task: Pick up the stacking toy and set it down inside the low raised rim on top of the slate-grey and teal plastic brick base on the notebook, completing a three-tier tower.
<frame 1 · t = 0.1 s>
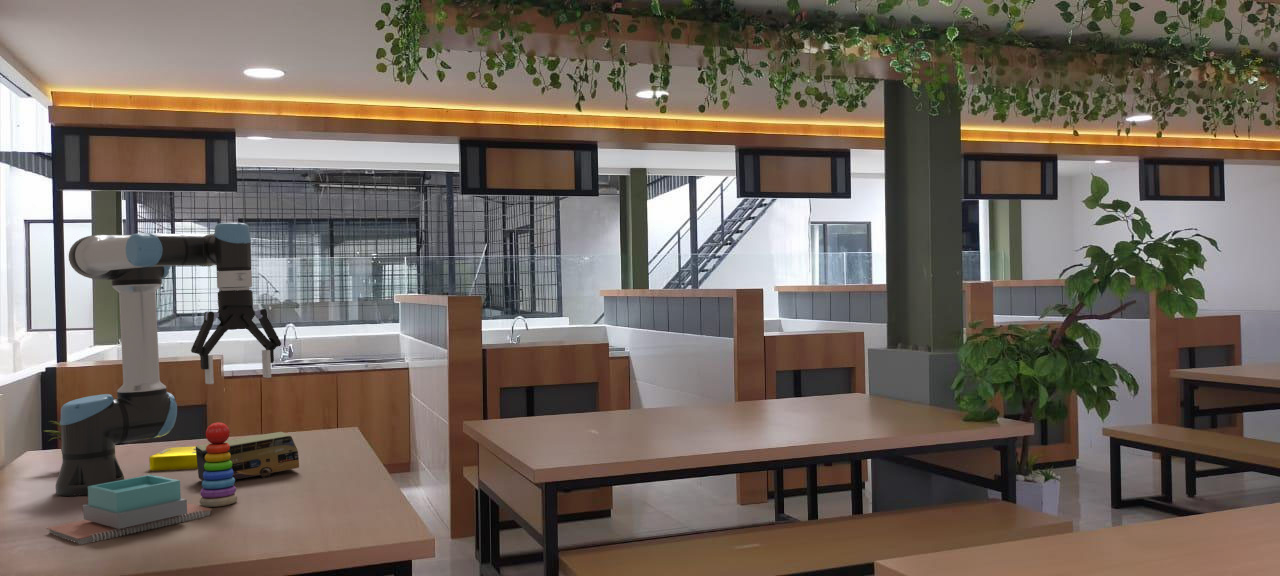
hand: (239, 380, 222), 28 cm above the table, fingers open, 13 cm apart
house plant: (77, 468, 273), on the table
toy bus: (249, 478, 250), on the table
notebook: (133, 527, 203), on the table
stacking toy: (218, 504, 219), on the table
brick base: (135, 516, 201), resting on notebook
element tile: (185, 466, 272), on the table
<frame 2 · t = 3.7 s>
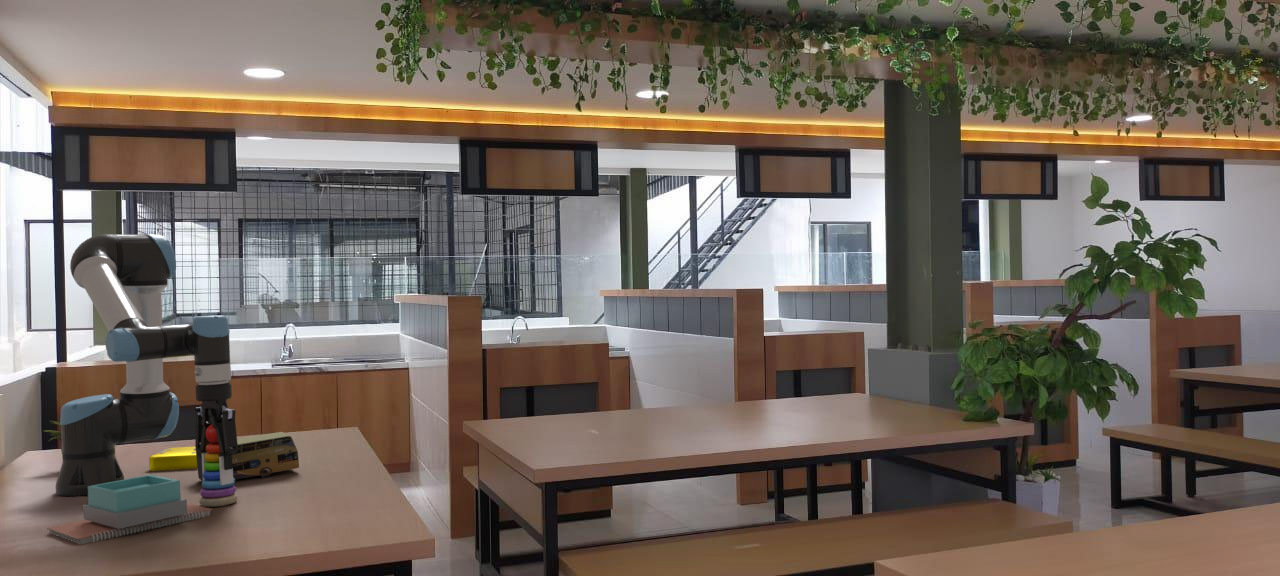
hand: (217, 481, 219), 5 cm above the table, fingers closed on stacking toy, 7 cm apart
stacking toy: (218, 504, 219), on the table, touching gripper
everything else where it was.
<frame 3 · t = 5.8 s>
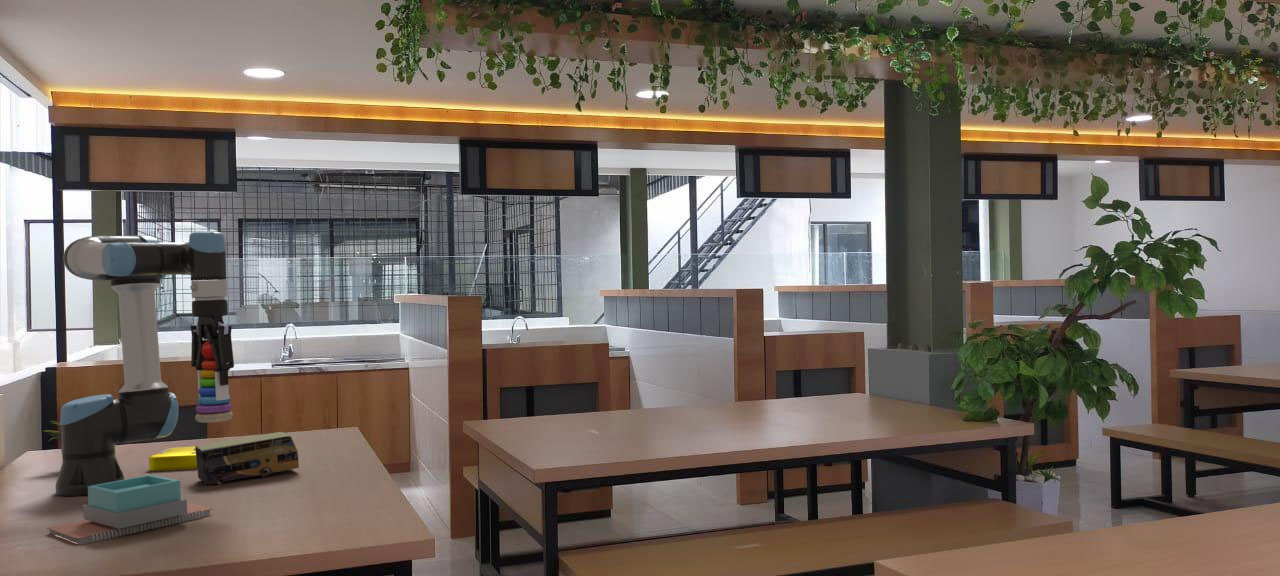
hand: (213, 398, 219), 24 cm above the table, fingers closed on stacking toy, 7 cm apart
stacking toy: (214, 421, 219), point 19 cm above the table, touching gripper
everything else where it was.
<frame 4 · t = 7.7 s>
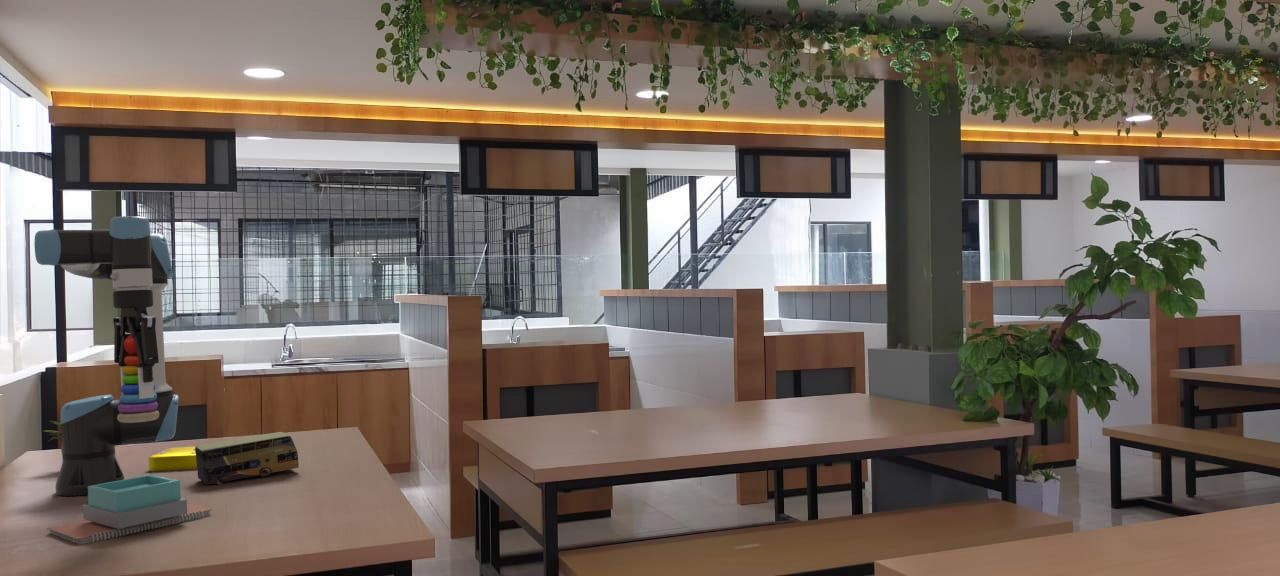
hand: (137, 396, 202), 27 cm above the table, fingers closed on stacking toy, 7 cm apart
stacking toy: (138, 421, 203), point 22 cm above the table, touching gripper
everything else where it was.
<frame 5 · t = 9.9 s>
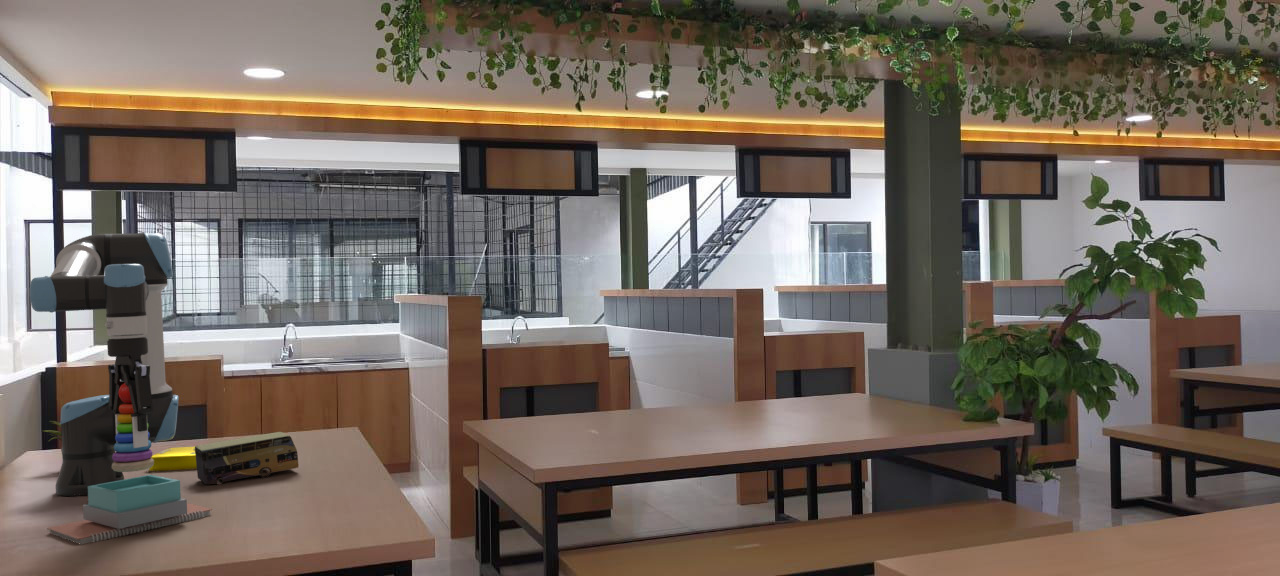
hand: (132, 445, 201), 17 cm above the table, fingers closed on stacking toy, 7 cm apart
stacking toy: (133, 470, 201), point 12 cm above the table, touching gripper
everything else where it was.
when the fingers open (13 cm above the table, at t = 11.9 s): stacking toy stays where it is, resting on brick base.
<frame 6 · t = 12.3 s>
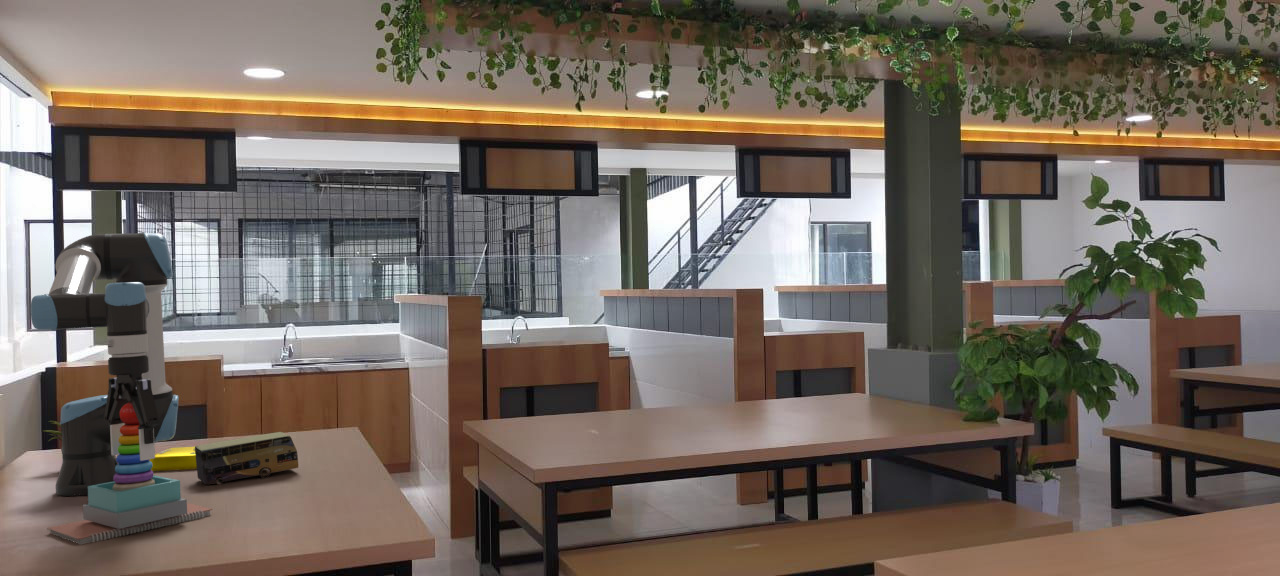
hand: (132, 456, 201), 15 cm above the table, fingers open, 12 cm apart
stacking toy: (134, 491, 201), point 7 cm above the table, touching brick base
everything else where it was.
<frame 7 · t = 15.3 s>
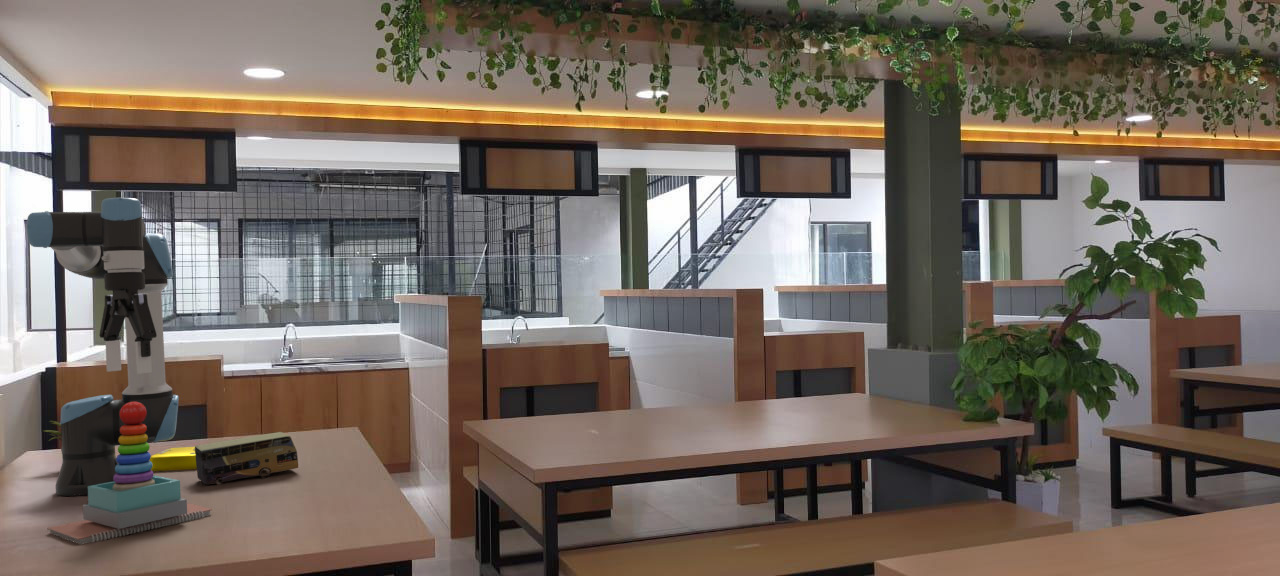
hand: (129, 372, 201), 33 cm above the table, fingers open, 13 cm apart
nothing on the table moved.
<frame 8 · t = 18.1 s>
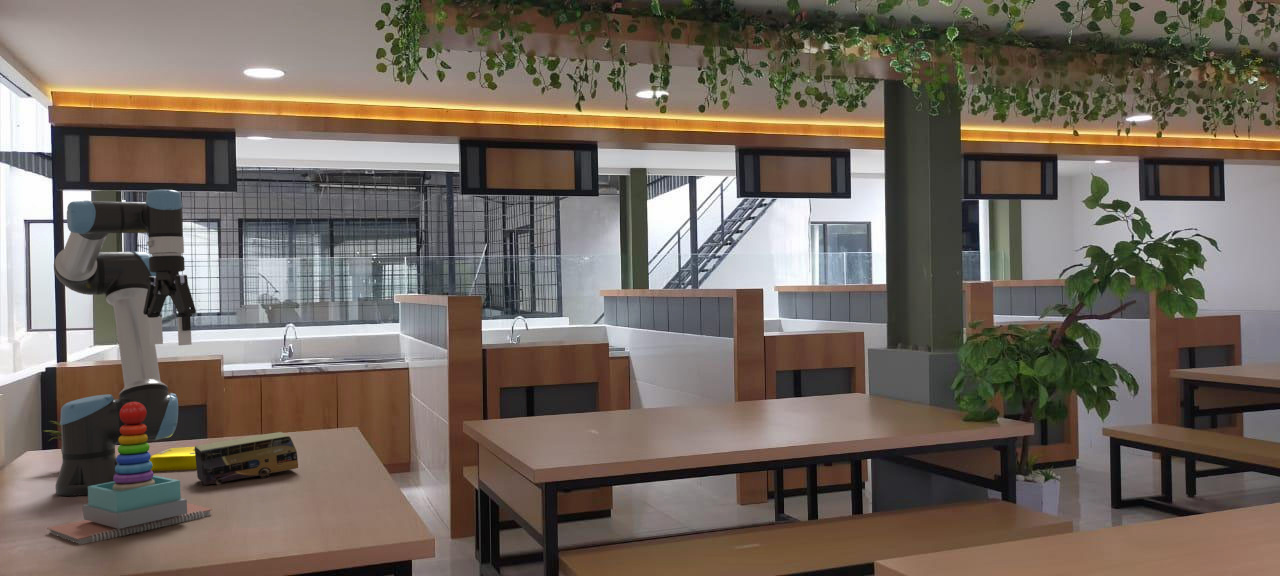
hand: (170, 344, 226), 37 cm above the table, fingers open, 13 cm apart
nothing on the table moved.
at the end: stacking toy 0.1 cm off-centre on the brick base, point 5.3 cm above the brick base's base; stacking toy tilted 0°; the gripper is holding nothing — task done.
